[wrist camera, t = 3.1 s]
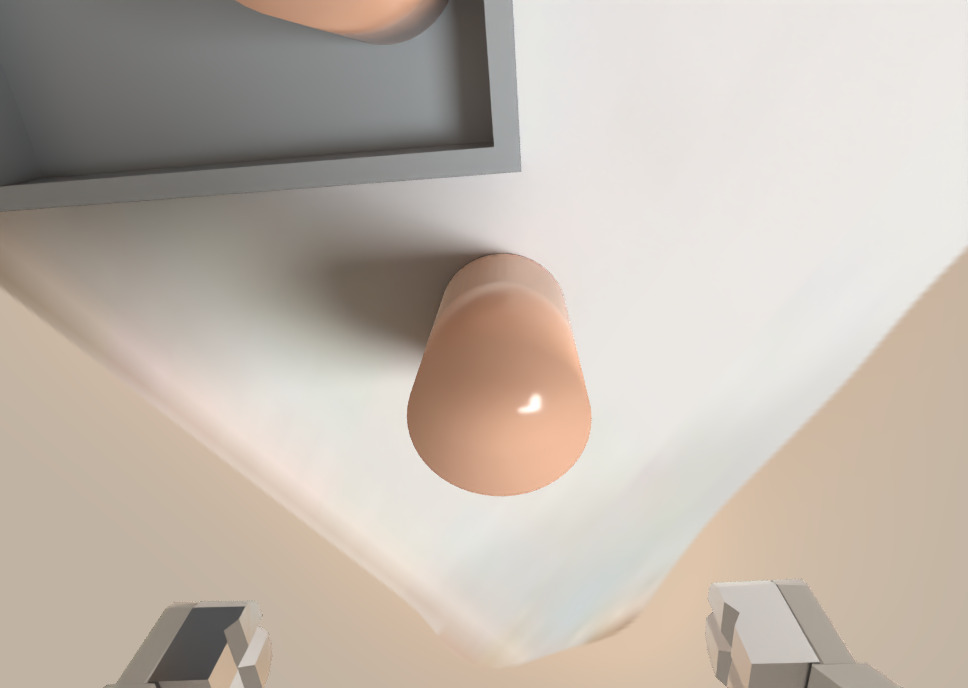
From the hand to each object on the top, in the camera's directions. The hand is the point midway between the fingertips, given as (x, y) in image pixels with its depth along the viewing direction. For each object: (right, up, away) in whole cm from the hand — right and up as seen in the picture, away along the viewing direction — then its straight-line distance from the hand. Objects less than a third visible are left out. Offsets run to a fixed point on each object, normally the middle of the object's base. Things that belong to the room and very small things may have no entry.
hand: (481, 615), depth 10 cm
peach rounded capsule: (+1, +6, +12) cm, 14 cm away
